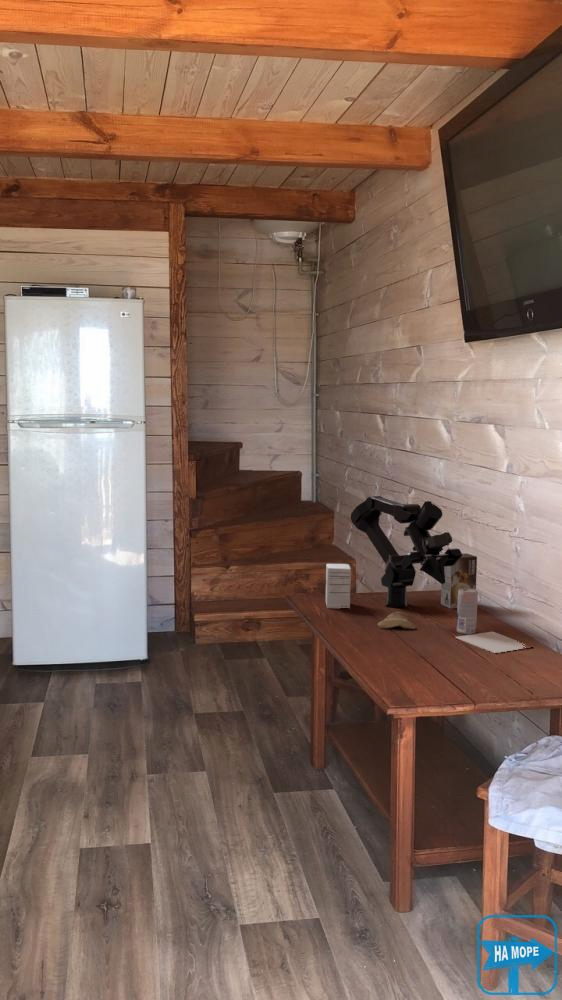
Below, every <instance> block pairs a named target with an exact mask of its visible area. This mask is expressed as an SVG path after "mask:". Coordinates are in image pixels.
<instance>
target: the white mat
mask: <svg viewBox="0 0 562 1000" xmlns="http://www.w3.org/2000/svg"><path fill="white" fill-rule="evenodd" d="M455 639H458V640H459V641H463V642H465V643H467V644H470V645H472V646H474V647H477V648H480V649H482V650H484V649H485V650H484V651H487V652H489V651H490V653H492V654H494V653H498V654H502V653H501V652H505V653H508V652H507V651H511V652H514V651H513V650H517V651H519V650H518V649H523V647H525V646H523V645H525V644H526V643H525V644H523V643H524V642H522V643H519V642H520V641H519V640H516V639H514V638H511V637H508V636H506V635H502V634H500V633H498V632H494V631H487V632H480V633H474V634H464V635H459V636H455ZM517 641H518V642H517ZM522 644H523V645H522ZM525 648H526V647H525Z"/></svg>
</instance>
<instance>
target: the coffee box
mask: <svg viewBox="0 0 562 1000" xmlns="http://www.w3.org/2000/svg"><path fill="white" fill-rule="evenodd" d="M477 566H478V556H476V555H473V554H470V553H462V556H461V558H460V559H459V560H458V561H457V562H456V564H455V565H453V566H446V567H445V566H444V572H445V583H444V584H441V583H440V586H441V588H440V605H442V606H443V607H447V608H448V609H457V605H458V591H459V589H460V588H472V589H476V590H477V572H478V571H477V570H478V567H477Z"/></svg>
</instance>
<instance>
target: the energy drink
mask: <svg viewBox="0 0 562 1000" xmlns="http://www.w3.org/2000/svg"><path fill="white" fill-rule="evenodd" d="M478 595H479V594H478V590H477V588H476V589H472V588H460V589H459V591H458V605H457V608H456V610H457V611H456V628H455V629H456V630H455V631H456V632H457V633H458V634H462V635H472V634H476V632H477V622H478V621H477V617H478V598H479V596H478Z"/></svg>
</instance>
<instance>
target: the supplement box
mask: <svg viewBox="0 0 562 1000" xmlns="http://www.w3.org/2000/svg"><path fill="white" fill-rule="evenodd" d="M325 567H326V568H325V569H326V571H325V604H326V608H327V609H340V608H349V609H351V590H352V589H351V586H352V585H351V584H352V583H351V581H352V569H351V566H350V564H349V563H326V565H325Z"/></svg>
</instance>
